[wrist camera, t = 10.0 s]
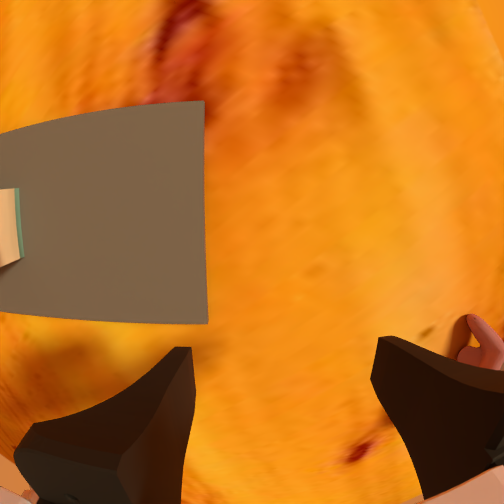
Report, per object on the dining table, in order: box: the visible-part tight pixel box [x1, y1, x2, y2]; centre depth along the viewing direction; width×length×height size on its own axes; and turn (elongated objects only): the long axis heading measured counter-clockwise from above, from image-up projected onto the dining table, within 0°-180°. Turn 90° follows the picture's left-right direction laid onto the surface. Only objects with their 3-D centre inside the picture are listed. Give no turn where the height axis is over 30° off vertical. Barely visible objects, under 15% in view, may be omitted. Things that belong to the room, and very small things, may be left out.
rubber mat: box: [0, 101, 208, 324], centre depth 18 cm, size 22×14×1 cm, turn 90°
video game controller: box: [457, 314, 504, 371], centre depth 21 cm, size 10×5×7 cm, turn 139°
